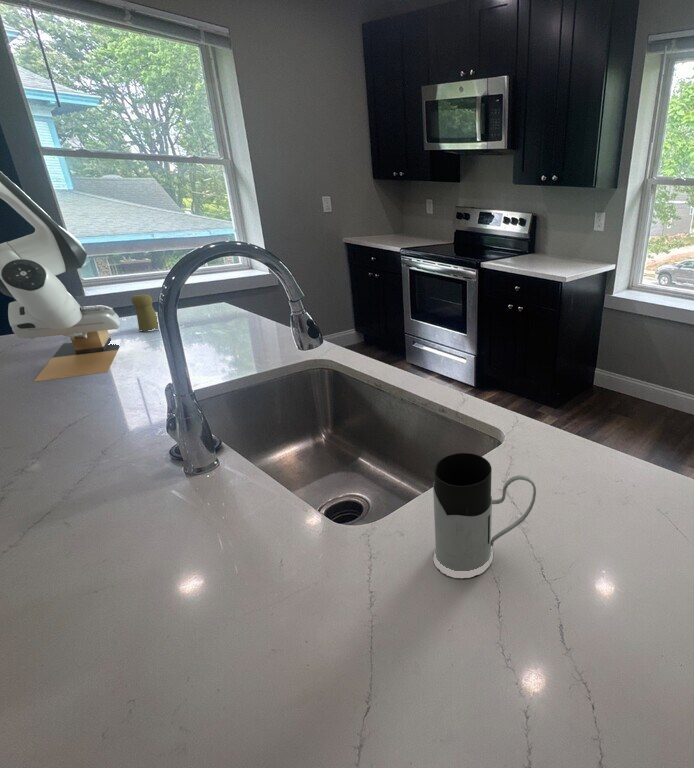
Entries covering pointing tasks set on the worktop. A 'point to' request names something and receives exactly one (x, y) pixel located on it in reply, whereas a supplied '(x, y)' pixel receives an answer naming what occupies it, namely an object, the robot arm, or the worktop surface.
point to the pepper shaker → (145, 312)
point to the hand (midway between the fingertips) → (80, 336)
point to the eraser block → (92, 342)
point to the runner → (77, 363)
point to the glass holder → (466, 510)
